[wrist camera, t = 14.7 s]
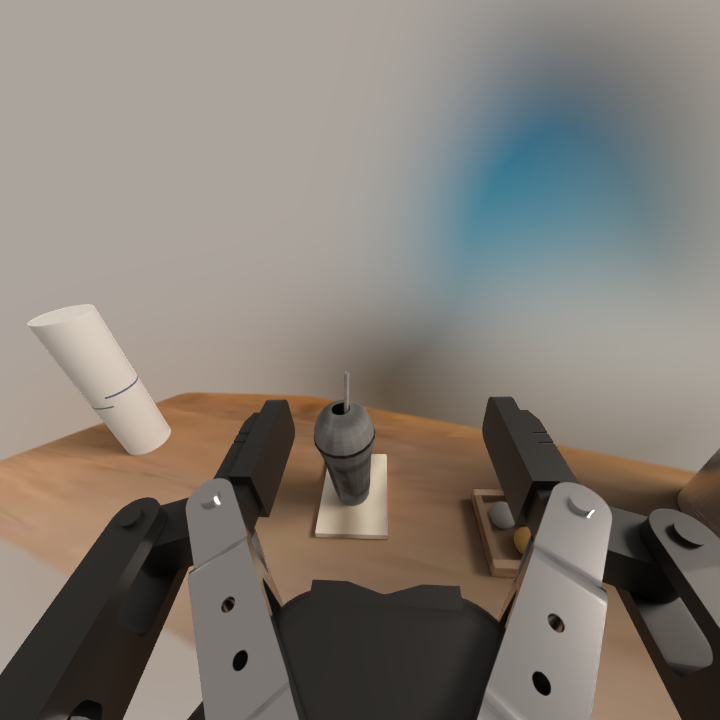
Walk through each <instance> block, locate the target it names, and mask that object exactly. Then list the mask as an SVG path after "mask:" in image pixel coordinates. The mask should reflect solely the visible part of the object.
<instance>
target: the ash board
mask: <svg viewBox="0 0 720 720" xmlns="http://www.w3.org/2000/svg"><path fill="white" fill-rule="evenodd" d="M315 535H316V537H326V538H358V539H388V525H387V456H386V454H371V473H370V488H369V495H368V497H367V499H366V500H365V501H364V502H363V503H361V504H359V505H356V506H348V505H346V504H344V503H342V502H341V501H340V499H339V497H338V495H337V493H336V491H335V488H334V486H333V483H332V480H331V477H330V475H329V472H328V469H327V471H326V477H325V482H324V488H323V493H322V498H321V504H320V509H319V515H318V520H317V525H316V531H315Z"/></svg>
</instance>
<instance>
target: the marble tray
mask: <svg viewBox="0 0 720 720" xmlns="http://www.w3.org/2000/svg"><path fill="white" fill-rule="evenodd" d="M471 501H472V505H473V509H474V513H475V516H476V520H477V524H478V528H479V532H480V535H481V539H482V543H483V547H484V550H485V554H486V558H487V562H488V565H489V569H490V573H491V577H510V578H515V576H516V573H517V570H518V567H519V565H520V562H521V559H522V556H523V554H524V551H525V548H526V545H527V543H528V540H529V537H530V535H531V533H530V530H529V528H528V525H527V524H515V523H514V520H513V517H512V514H511V512H510V509H509V506H508V504H507V501H506V498H505V496H504V493H503V490H492V489H473V491H472V496H471Z"/></svg>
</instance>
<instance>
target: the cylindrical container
mask: <svg viewBox="0 0 720 720" xmlns="http://www.w3.org/2000/svg"><path fill="white" fill-rule="evenodd" d="M27 325H28V326H29V327H30V328H31V330H32V331H33V332H34V334H35V335H36V336H37V337H38V339H39V340H40V341H41V342H42V344H43V345H44V346H45V347H46V349H47V350H48V351H49V353H50V354H51V355H52V357H53V358H54V359H55V360H56V362H57V363H58V364H59V365H60V367H61V368H62V369H63V370H64V372H65V373H66V374H67V376H68V377H69V378H70V379H71V381H72V382H73V383H74V385H75V386H76V387H77V388H78V390H79V391H80V392H81V394H82V395H83V396H84V397H85V398H86V400H87V401H88V402H89V404H90V405H91V406H92V408H93V409H94V410H95V411H96V413H97V414H98V415H99V416H100V418H101V419H102V420H103V422H104V423H105V424H106V425H107V427H108V428H109V429H110V430H111V432H112V433H113V434H114V436H115V437H116V438H117V439H118V441H119V442H120V443H121V444H122V446H123V447H124V448H125V450H126V451H127V452H128V453H129V454H131V455H142V454H146V453H148V452H151V451H153V450H155V449H156V448H158V447H160V446H161V445H162V444H163V443H164V442H165V441H166V440H167V439H168V438H169V436H170V433H171V429H170V427H169V426H168V424H167V423H166V421H165V419H164V418H163V416H162V414H161V413H160V411H159V410H158V408H157V406H156V405H155V403H154V402H153V400H152V398H151V397H150V395H149V394H148V392H147V390H146V389H145V387H144V386H143V384H142V382H141V381H140V379H139V377H138V376H137V374H136V372H135V371H134V369H133V368H132V367H131V365H130V363H129V361H128V360H127V358H126V356H125V355H124V353H123V352H122V350H121V348H120V347H119V345H118V344H117V342H116V340H115V339H114V337H113V335H112V334H111V332H110V331H109V329H108V327H107V326H106V324H105V322H104V321H103V319H102V318H101V316H100V314H99V313H98V311H97V310H96V308H95V306H93V305H91V304H84V305H75V306H70V307H65V308H62V309H57V310H54V311H51V312H48V313H45V314H42V315H40V316H38V317H36V318H34V319H32V320H30V321H29V322H28V324H27Z"/></svg>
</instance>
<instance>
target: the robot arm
mask: <svg viewBox="0 0 720 720" xmlns="http://www.w3.org/2000/svg"><path fill="white" fill-rule="evenodd" d="M482 431H483V438H484V442H485V445H486V447H487V450H488V453H489V455H490V458H491V461H492V463H493V466H494V469H495V471H496V474H497V477H498V479H499V482H500V485H501V488H502V490H503V493H504V496H505V498H506V501H507V504H508V506H509V509H510V512H511V514H512V517H513V520H514V523H515V524H527V525H528V528H529V530H530V533H531V535H530V537H529V540H528V543H527V545H526V548H525V551H524V554H523V556H522V559H521V562H520V565H519V567H518V570H517V573H516V576H515V578H514V581H513V584H512V587H511V589H510V592H509V594H508V597H507V599H506V601H505V604H504V606H503V609H502V611H501V614H500V616H499V619H498V620H497V619H495V618H494V617H493V616H492V615H491V614H489V613H488V612H487V611H485V610H484V609H482V608H481V607H479V606H478V605H476V604H474V603H472V602H470V601H468V600H466V599H463V598H462V597H461V592H460V586H441V585H419V586H415V587H412V588H408V589H405V590H401V591H397V592H394V593H390V594H380V593H377V592H375V591H372V590H369V589H367V588H364V587H361V586H359V585H356V584H353V583H351V582H348V581H331V580H313V581H312V587H311V591H308V592H305V593H303V594H301V595H298V596H296V597H295V598H293V599H292V600H290V601H288V602H287V603H286V604H285V605H283V603H282V600H281V598H280V595H279V593H278V590H277V588H276V586H275V583H274V581H273V578H272V576H271V573H270V570H269V567H268V564H267V561H266V558H265V556H264V553H263V550H262V547H261V544H260V541H259V538H258V535H257V532H256V529H255V525H256V522H257V519H258V517H269V515H270V512H271V509H272V506H273V503H274V500H275V497H276V494H277V491H278V488H279V485H280V482H281V478H282V475H283V472H284V469H285V466H286V463H287V460H288V457H289V454H290V451H291V448H292V445H293V442H294V437H295V427H294V423H293V419H292V416H291V412H290V409H289V405H288V402H287V400H267V401H266V402H265V404H264V406H263V408H262V410H261V412H260V413H253V414H252V415H251V416H250V417H249V418H248V419H247V420H246V421H245V422H244V424H243V426H242V427H241V429H240V431H239V435H237V437H236V438H235V440H234V444H232V446H231V448H230V449H229V451H228V453H227V455H226V457H225V459H224V460H223V462H222V464H221V466H220V468H219V470H218V471H217V473H216V475H215V477H214V478H213V479H212V480H209V481H207V482H205V483H203V484H202V485H200V486H199V487H198V488H197V489H196V490H195V491H194V492H193V493H192V494H191V496H190V497H189V498H186V499H182V500H179V501H175V502H172V503H168V504H165V505H160V504H159V503H158V501H157V500H156V499H154V498H148V497H147V498H141V499H138V500H135V501H133V502H131V503H130V504H128V505H126V506H125V507H124V508H122V509H121V510H120V511H119V512H118V513H117V514H116V515H115V516H114V517H113V518H112V520H111V521H110V522H109V524H108V525H107V526H106V528H105V529H104V531H103V532H102V533H101V535H100V536H99V538H98V539H97V540H96V542H95V543H94V545H93V546H92V547H91V549H90V550H89V552H88V553H87V554H86V556H85V557H84V559H83V560H82V561H81V563H80V564H79V566H78V567H77V568H76V570H75V571H74V573H73V574H72V575H71V577H70V578H69V580H68V581H67V582H66V584H65V585H64V587H63V588H62V589H61V591H60V592H59V594H58V595H57V596H56V598H55V599H54V601H53V602H52V603H51V605H50V606H49V608H48V609H47V610H46V612H45V613H44V615H43V616H42V617H41V619H40V620H39V622H38V623H37V624H36V626H35V627H34V629H33V630H32V631H31V633H30V634H29V635H28V637H27V638H26V640H25V641H24V643H23V644H22V645H21V647H20V648H19V650H18V651H17V652H16V654H15V655H14V656H13V658H12V659H11V661H10V662H9V663H8V665H7V666H6V668H5V669H4V670H3V672H2V673H1V675H0V720H123V717H124V715H125V713H126V710H127V708H128V706H129V704H130V701H131V699H132V697H133V694H134V692H135V690H136V688H137V685H138V683H139V681H140V678H141V676H142V674H143V671H144V669H145V667H146V664H147V662H148V660H149V658H150V655H151V653H152V651H153V648H154V646H155V643H156V642H157V639H158V637H159V635H160V632H161V630H162V628H163V625H164V623H165V621H166V619H167V616H168V614H169V612H170V609H171V607H172V605H173V602H174V600H175V598H176V596H177V593H178V591H179V589H180V586H181V584H182V582H183V579H184V577H185V575H186V573H187V570H188V568H189V567H190V566H193V565H194V569H193V570H192V571H191V572H190V573H189V576H188V585H189V593H190V601H191V609H192V617H193V625H194V633H195V641H196V649H197V657H198V665H199V672H200V681H201V689H202V696H203V701H202V702H201V704H200V705H199V706H198V707H197V708H196V710H195V711H194V712H193V713H192V715H191V716H190V717H189V718H188V719H187V720H591V715H592V708H593V701H594V694H595V687H596V680H597V673H598V666H599V659H600V652H601V645H602V638H603V631H604V624H605V617H606V610H607V601H608V597H607V592H606V590H604V589H603V588H602V582H604V583H607V584H610V585H612V586H615V587H616V589H617V591H618V593H619V595H620V597H621V599H622V601H623V603H624V605H625V607H626V609H627V611H628V613H629V615H630V617H631V619H632V621H633V623H634V625H635V627H636V629H637V631H638V633H639V635H640V637H641V639H642V641H643V643H644V645H645V647H646V649H647V651H648V653H649V655H650V657H651V659H652V661H653V663H654V665H655V667H656V669H657V671H658V673H659V675H660V677H661V679H662V681H663V683H664V685H665V687H666V689H667V691H668V693H669V695H670V697H671V699H672V701H673V703H674V705H675V707H676V709H677V711H678V713H679V715H680V717H681V719H682V720H720V448H719V449H718V451H716V453H715V454H714V455H713V456H712V457H711V458H710V459H709V460H708V461H707V463H706V464H705V465H704V466H703V467H702V468H701V469H700V470H699V471H698V472H697V473H696V475H695V476H694V477H693V478H692V479H691V480H690V481H689V482H688V483H687V485H686V486H685V487H684V488H683V489H682V490H681V491H680V493H679V494H678V498H677V501H678V506H679V508H680V510H681V512H679V511H676V510H672V509H666V508H663V509H656V510H654V511H653V512H652V513H651V514H650V515H649V516H648V517H646V516H643V515H639V514H636V513H632V512H629V511H625V510H622V509H618V508H615V507H612V506H609V505H607V504H606V503H605V501H604V500H603V499H602V498H601V497H600V496H599V495H597V494H596V493H595V492H593V491H592V490H590V489H588V488H587V487H585V486H582V485H580V484H579V482H578V481H577V479H576V478H575V476H574V475H573V473H572V471H571V470H570V468H569V466H568V465H567V463H566V462H565V460H564V458H563V457H562V455H561V454H560V452H559V450H558V449H557V447H556V446H555V444H553V441H552V439H551V438H550V436H549V434H547V431H546V430H545V428H544V426H543V425H542V423H541V422H540V420H539V419H538V418H536V417H535V416H534V415H533V414H532V413H530V412H529V411H528V410H520V409H519V408H518V406H517V404H516V402H515V401H514V399H513V398H512V397H490V398H489V399H488V403H487V407H486V412H485V417H484V421H483V427H482Z"/></svg>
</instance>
